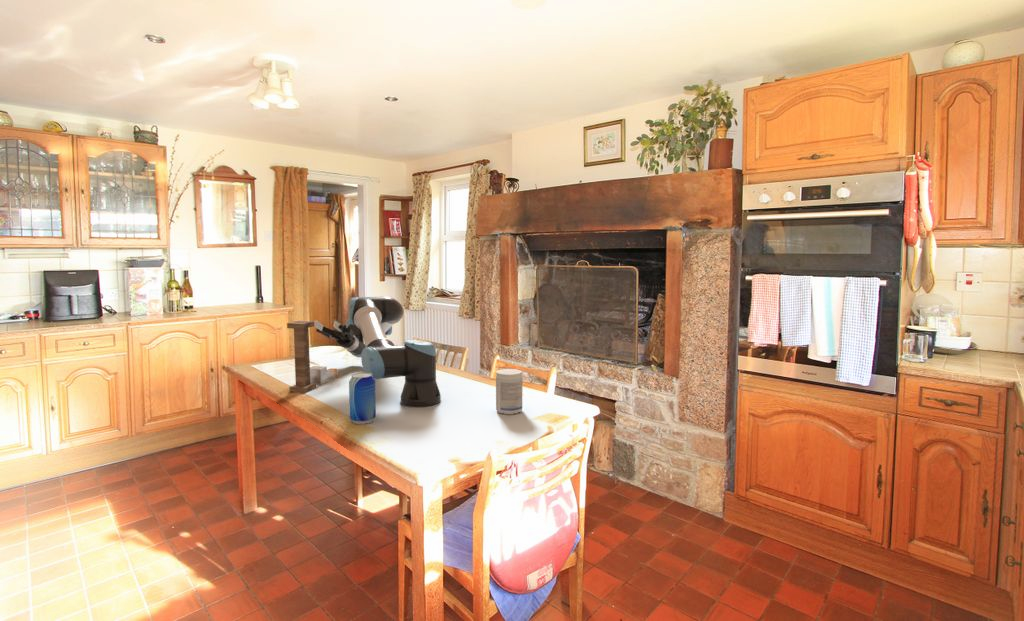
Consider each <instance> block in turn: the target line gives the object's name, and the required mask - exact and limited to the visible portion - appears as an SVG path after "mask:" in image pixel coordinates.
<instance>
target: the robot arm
mask: <svg viewBox="0 0 1024 621" xmlns="http://www.w3.org/2000/svg"><path fill="white" fill-rule="evenodd" d="M348 315H349V316H348V319H347V320H345V321H346V323H345V324H341V323H340V322H339V321H338V320H334V322H333V328H334V329H331V328H328V327H327V326H324V324H323V323H321V322H320V321H318V320H317V319H314V320H313V321H314V325H315V326H314V327H315V328H316V331H315V332H316V333H318V334H320V335H322V336H324V337H326V338H327V339H331V338H332V339H334V340H336V342H337V345H338V346H340V347H342V348H343V349H345V350H346V351H347V352H348V353H350V354H351V355H352V356H353V357H355V358H361V359H360V360H361V365H362V370H363V373H371V374H372V377H373V378H374V380H380V379H389V378H397V377H404V384H403V388H402V391H401V395H400V404H401V405H403V406H408V407H416V408H417V407H418V408H419V407H430V406H434V405H437V404H439V403H441V396H442V395H441V392H440V389H439V387H438V386H439V385H438V383H437V352H436V350H437V349H436V348H437V347H436V345H435V344H433V343H432V342H429V341H425V340H418V339H417V340H415V339H414V340H413V339H410V340H409V339H408V340H405V341H404V343H403V344H401V345H400V344H398V345H396V344H394V342H393V341H391V340H390V339H388V337H387V336H390V335H392V333H393V325H394V324H397V323H399V322H400V321H401V319H402V318H403V316H404V308H403V305H402V303H400V301H399V300H397V299H395V298H393V297H392V296H391V297H390V296H364V297H363V296H362V297H360V296H357V297H351V298H350V299H349V308H348Z"/></svg>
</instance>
